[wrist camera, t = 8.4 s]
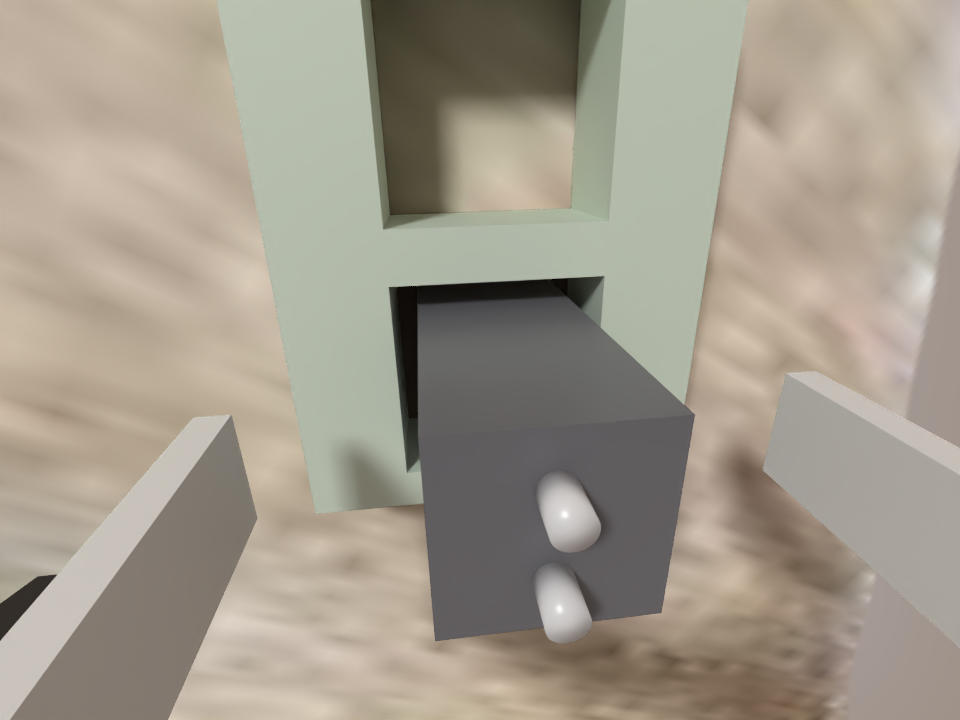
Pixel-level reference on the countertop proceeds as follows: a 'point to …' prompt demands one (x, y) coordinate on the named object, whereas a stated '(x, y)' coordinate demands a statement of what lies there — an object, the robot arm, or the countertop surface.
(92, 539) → the robot arm
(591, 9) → the outlet plate
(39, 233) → the countertop surface
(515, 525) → the charger
